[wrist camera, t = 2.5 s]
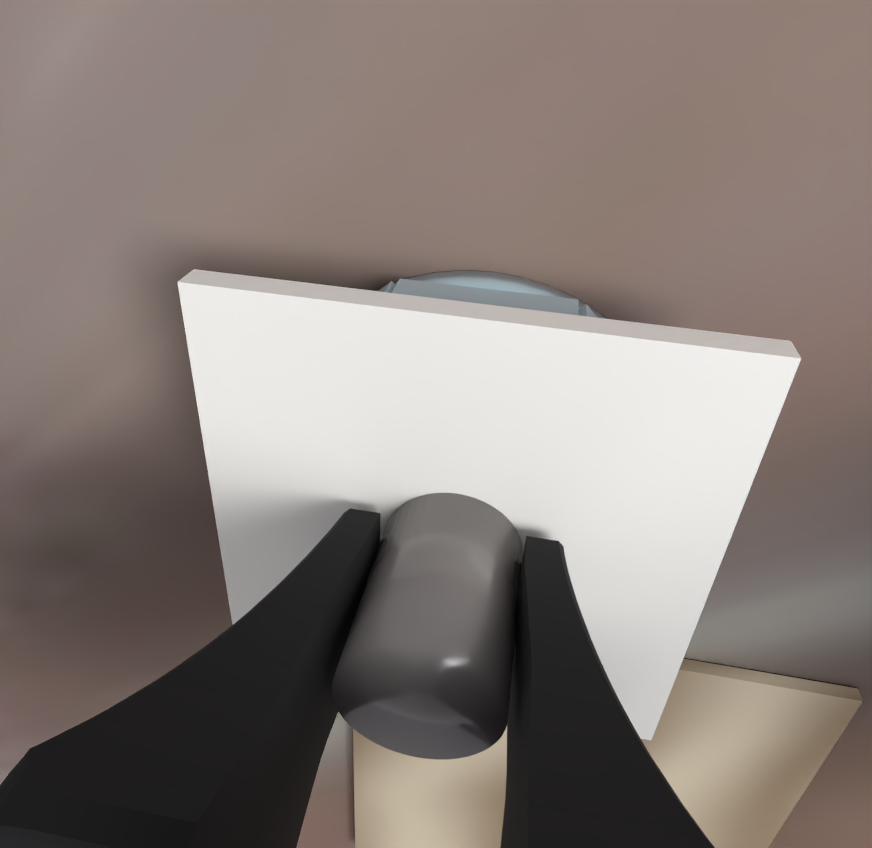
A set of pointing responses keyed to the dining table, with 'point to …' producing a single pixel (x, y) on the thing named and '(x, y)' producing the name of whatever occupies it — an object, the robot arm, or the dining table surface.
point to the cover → (476, 480)
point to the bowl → (491, 291)
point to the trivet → (670, 749)
